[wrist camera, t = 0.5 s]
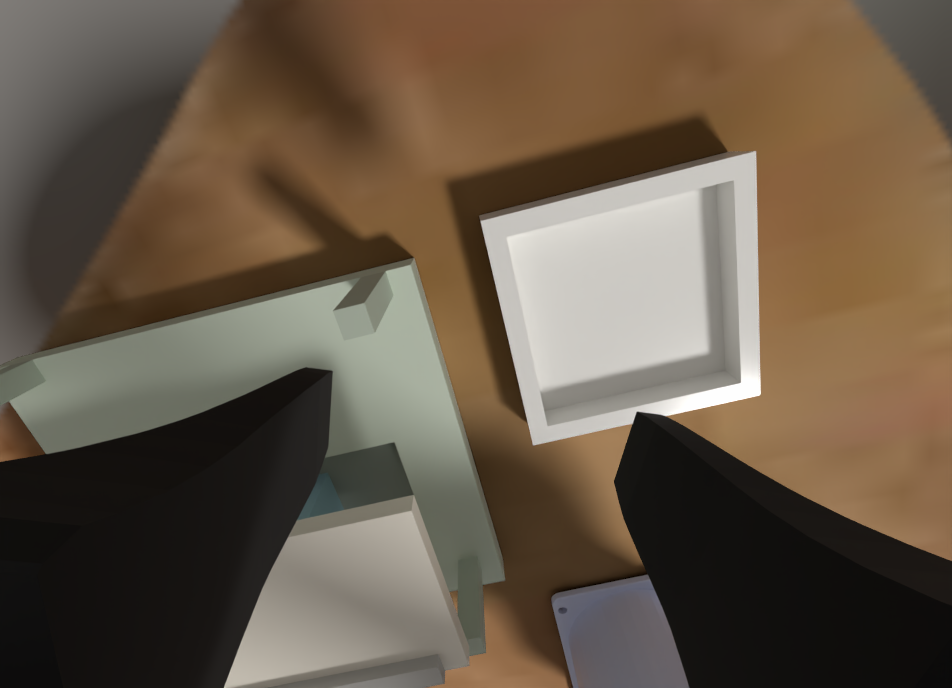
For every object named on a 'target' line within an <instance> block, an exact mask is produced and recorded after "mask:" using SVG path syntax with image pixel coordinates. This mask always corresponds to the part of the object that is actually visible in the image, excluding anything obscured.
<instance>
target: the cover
mask: <svg viewBox="0 0 952 688" xmlns="http://www.w3.org/2000/svg"><path fill="white" fill-rule="evenodd" d="M466 666H469V645H468V642H467V639H466V637H465V634H464V631H463V628H462V626H461V623H460V620H459V617H458V615H457V612H456V609H455V606H454V604H453V601H452V598H451V595H450V593H449V590H448V587H447V585H446V582H445V579H444V576H443V574H442V571H441V568H440V565H439V563H438V560H437V557H436V554H435V552H434V549H433V546H432V543H431V541H430V538H429V535H428V532H427V530H426V527H425V524H424V522H423V519H422V516H421V513H420V511H419V508H418V505H417V502H416V500H415V497H414V495H411V496H406V497H401V498H397V499H392V500H388V501H383V502H379V503H374V504H369V505H365V506H360V507H356V508H351V509H347V510H342V511H338V512H333V513H328V514H324V515H319V516H315V517H310V518H306V519H301V520H297V521H296V523H295V525H294V527H293V529H292V531H291V533H290V534H289V536H288V538H287V540H286V542H285V544H284V546H283V548H282V550H281V552H280V554H279V556H278V558H277V560H276V561H275V563H274V565H273V567H272V569H271V571H270V573H269V576H268V578H267V580H266V582H265V584H264V586H263V588H262V591H261V593H260V596H259V598H258V601H257V603H256V606H255V608H254V611H253V613H252V616H251V618H250V621H249V623H248V626H247V628H246V631H245V633H244V636H243V638H242V641H241V644H240V646H239V649H238V652H237V654H236V657H235V660H234V662H233V665H232V667H231V670H230V673H229V675H228V678H227V681H226V683H225V686H224V688H424V687H430V686H435V685H440V684H445V670H450V669H456V668H461V667H466Z"/></svg>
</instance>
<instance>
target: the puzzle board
mask: <svg viewBox="0 0 952 688" xmlns="http://www.w3.org/2000/svg"><path fill="white" fill-rule="evenodd" d="M305 367H308V368H316V369H323V370H331V371H333V376H332V394H331V411H330V429H329V446H328V450H327V453H326V456H325V459H324V462H323V464H322V467H321V470H320V473H319V474H324V473H328V474H329V476H330V479H331V481H332V483H333V485H334V488H335V490H336V492H337V494H338V497H339V499H340V501H341V504H342V506H343V508H344V510H347V509H351V508H356V507H360V506H365V505H369V504H374V503H379V502H383V501H388V500H392V499H397V498H401V497H406V496H411V495H414V497H415V500H416V502H417V505H418V508H419V511H420V513H421V516H422V519H423V522H424V524H425V527H426V530H427V532H428V535H429V538H430V541H431V543H432V546H433V549H434V552H435V554H436V557H437V560H438V563H439V565H440V568H441V571H442V574H443V576H444V579H445V582H446V585H447V587H448V590H449V592H451V591H456V590H458V617H459V620H460V623H461V626H462V628H463V631H464V634H465V637H466V639H467V642H468V645H469V656H473V655H478V654H483V653H486V642H485V622H484V601H483V585H486V584H490V583H495V582H500V581H505V574H504V564H503V557H502V554H501V551H500V547H499V544H498V540H497V537H496V534H495V530H494V527H493V523H492V520H491V517H490V513H489V510H488V506H487V503H486V500H485V496H484V493H483V490H482V486H481V483H480V479H479V476H478V473H477V469H476V466H475V462H474V459H473V456H472V452H471V449H470V445H469V442H468V439H467V435H466V432H465V429H464V425H463V422H462V418H461V415H460V412H459V408H458V405H457V401H456V398H455V395H454V391H453V388H452V384H451V381H450V378H449V374H448V371H447V368H446V364H445V361H444V357H443V354H442V351H441V347H440V344H439V340H438V337H437V334H436V330H435V327H434V323H433V320H432V317H431V313H430V310H429V307H428V303H427V300H426V296H425V293H424V290H423V286H422V283H421V279H420V276H419V273H418V269H417V266H416V262H415V259H414V258H411V259H407V260H403V261H399V262H395V263H391V264H387V265H383V266H379V267H375V268H371V269H367V270H363V271H359V272H355V273H351V274H347V275H343V276H339V277H335V278H331V279H327V280H323V281H319V282H315V283H311V284H307V285H303V286H300V287H296V288H292V289H288V290H284V291H280V292H276V293H272V294H268V295H264V296H260V297H256V298H252V299H248V300H244V301H240V302H236V303H232V304H228V305H224V306H220V307H216V308H212V309H208V310H204V311H200V312H196V313H192V314H188V315H184V316H180V317H176V318H172V319H168V320H164V321H160V322H156V323H152V324H148V325H144V326H141V327H137V328H133V329H129V330H125V331H121V332H117V333H113V334H109V335H105V336H101V337H97V338H93V339H89V340H85V341H81V342H77V343H73V344H69V345H65V346H61V347H57V348H53V349H49V350H45V351H41V352H37V353H33V354H29V355H26V356H21V357H18V358H15V359H13V360H11V361H9V362H6V363H4V364H2V365H0V406H1V405H3V404H5V403H7V402H8V401H9V402H10V403H11V405H12V406H13V408H14V409H15V411H16V412H17V413H18V415H19V416H20V418H21V419H22V421H23V422H24V423H25V425H26V426H27V428H28V429H29V430H30V432H31V433H32V435H33V436H34V438H35V439H36V440H37V442H38V443H39V445H40V446H41V448H42V449H43V450H44V452H45V453H46V454H49V453H55V452H60V451H65V450H70V449H75V448H79V447H83V446H88V445H92V444H96V443H100V442H104V441H108V440H112V439H116V438H120V437H124V436H128V435H132V434H137V433H140V432H144V431H147V430H150V429H154V428H157V427H160V426H163V425H166V424H170V423H173V422H176V421H179V420H182V419H185V418H188V417H190V416H193V415H196V414H199V413H201V412H204V411H206V410H209V409H211V408H213V407H216V406H218V405H221V404H223V403H226V402H228V401H230V400H233V399H235V398H238V397H240V396H242V395H245V394H247V393H249V392H251V391H253V390H255V389H258V388H260V387H262V386H264V385H266V384H268V383H271V382H273V381H275V380H277V379H279V378H281V377H283V376H285V375H287V374H290V373H292V372H294V371H296V370H299V369H302V368H305Z"/></svg>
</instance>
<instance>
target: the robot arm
mask: <svg viewBox="0 0 952 688" xmlns="http://www.w3.org/2000/svg"><path fill="white" fill-rule="evenodd" d="M332 376H333V371H331V370H323V369H316V368H308V367H305V368H302V369H299V370H296V371H294V372H292V373H290V374H287V375H285V376H283V377H281V378H279V379H277V380H275V381H273V382H271V383H268V384H266V385H264V386H262V387H260V388H258V389H255V390H253V391H251V392H249V393H247V394H245V395H242V396H240V397H238V398H235V399H233V400H230V401H228V402H226V403H223V404H221V405H218V406H216V407H213V408H211V409H209V410H206V411H204V412H201V413H199V414H196V415H193V416H190V417H188V418H185V419H182V420H179V421H176V422H173V423H170V424H166V425H163V426H160V427H157V428H154V429H150V430H147V431H144V432H140V433H137V434H132V435H128V436H124V437H120V438H116V439H112V440H108V441H104V442H100V443H96V444H92V445H88V446H83V447H79V448H75V449H70V450H65V451H60V452H55V453H49V454H44V455H39V456H34V457H28V458H22V459H16V460H10V461H4V462H0V688H224V686H225V683H226V681H227V678H228V675H229V673H230V670H231V667H232V665H233V662H234V660H235V657H236V654H237V652H238V649H239V646H240V644H241V641H242V638H243V636H244V633H245V631H246V628H247V626H248V623H249V621H250V618H251V616H252V613H253V611H254V608H255V606H256V603H257V601H258V598H259V596H260V593H261V591H262V588H263V586H264V584H265V582H266V580H267V578H268V576H269V573H270V571H271V569H272V567H273V565H274V563H275V561H276V560H277V558H278V556H279V554H280V552H281V550H282V548H283V546H284V544H285V542H286V540H287V538H288V536H289V534H290V533H291V531H292V529H293V527H294V525H295V523H296V521H297V519H298V517H299V515H300V513H301V511H302V509H303V507H304V506H305V504H306V502H307V500H308V498H309V496H310V494H311V492H312V490H313V488H314V486H315V484H316V481H317V478H318V476H319V473H320V470H321V467H322V464H323V462H324V459H325V456H326V453H327V450H328V446H329V429H330V411H331V394H332ZM614 484H615V488H616V492H617V496H618V500H619V504H620V507H621V510H622V514H623V517H624V520H625V523H626V525H627V528H628V530H629V532H630V535H631V537H632V539H633V542H634V544H635V547H636V549H637V551H638V553H639V556H640V558H641V560H642V563H643V565H644V567H645V569H646V572H647V574H648V575H643V576H638V577H633V578H628V579H623V580H618V581H613V582H608V583H603V584H598V585H593V586H588V587H583V588H578V589H573V590H569V591H564V592H559V593H556V594H554V595H553V596H552V598H551V602H552V607H553V611H554V615H555V618H556V622H557V626H558V630H559V634H560V638H561V642H562V646H563V650H564V654H565V658H566V662H567V665H568V669H569V673H570V677H571V681H572V685H573V688H952V561H950V560H947V559H944V558H942V557H939V556H937V555H934V554H931V553H929V552H926V551H924V550H921V549H918V548H916V547H913V546H911V545H908V544H906V543H904V542H901V541H899V540H897V539H894V538H892V537H890V536H887V535H885V534H882V533H880V532H878V531H875V530H873V529H871V528H868V527H866V526H864V525H862V524H859V523H857V522H855V521H853V520H850V519H848V518H846V517H844V516H842V515H840V514H838V513H836V512H834V511H832V510H830V509H828V508H826V507H824V506H822V505H820V504H818V503H815V502H813V501H811V500H809V499H807V498H805V497H804V496H802V495H800V494H798V493H796V492H794V491H792V490H790V489H788V488H787V487H785V486H783V485H781V484H780V483H778V482H776V481H774V480H773V479H771V478H769V477H767V476H765V475H764V474H762V473H760V472H758V471H757V470H755V469H753V468H752V467H750V466H748V465H747V464H745V463H743V462H742V461H740V460H738V459H737V458H735V457H733V456H732V455H730V454H729V453H727V452H725V451H724V450H722V449H721V448H719V447H717V446H716V445H714V444H712V443H711V442H709V441H708V440H706V439H704V438H703V437H701V436H700V435H698V434H696V433H695V432H693V431H691V430H690V429H688V428H686V427H684V426H683V425H681V424H679V423H677V422H676V421H674V420H672V419H670V418H668V417H665V416H663V415H659V414H652V413H644V412H636V415H635V418H634V421H633V424H632V428H631V431H630V434H629V437H628V440H627V443H626V446H625V449H624V452H623V455H622V458H621V461H620V465H619V468H618V471H617V474H616V477H615V480H614ZM561 607H562V608H561Z"/></svg>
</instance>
